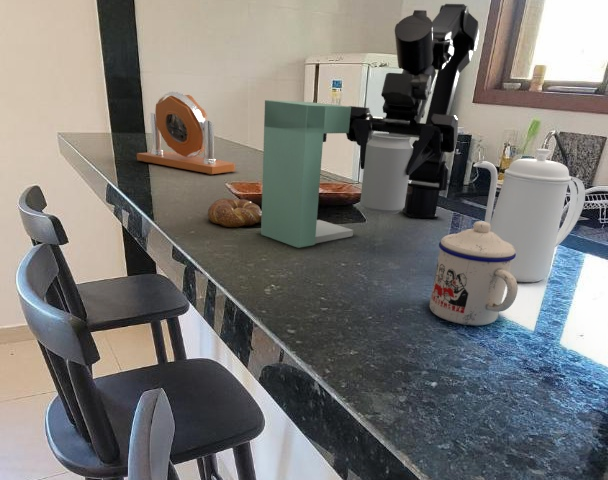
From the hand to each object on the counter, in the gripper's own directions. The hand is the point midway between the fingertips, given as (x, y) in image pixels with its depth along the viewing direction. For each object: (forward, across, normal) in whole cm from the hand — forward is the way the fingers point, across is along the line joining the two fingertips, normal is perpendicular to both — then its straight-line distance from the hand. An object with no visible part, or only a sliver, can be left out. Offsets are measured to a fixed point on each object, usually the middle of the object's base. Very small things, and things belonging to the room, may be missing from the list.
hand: (384, 170), depth 86 cm
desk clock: (-26, -75, +46) cm, 92 cm away
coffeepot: (+8, +23, +10) cm, 26 cm away
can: (+4, 0, +6) cm, 7 cm away
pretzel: (+8, -29, +11) cm, 32 cm away
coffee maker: (+8, -13, +11) cm, 19 cm away
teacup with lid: (+25, +20, -6) cm, 32 cm away
